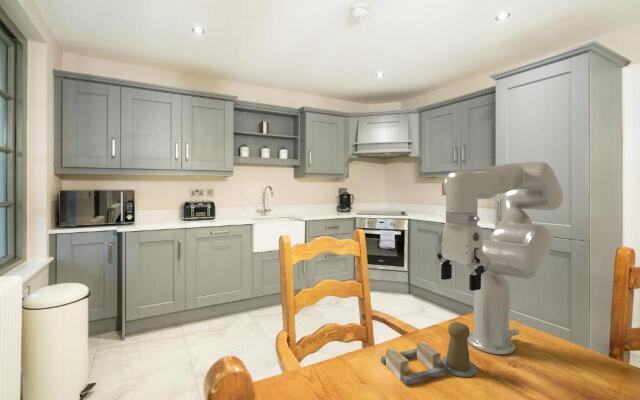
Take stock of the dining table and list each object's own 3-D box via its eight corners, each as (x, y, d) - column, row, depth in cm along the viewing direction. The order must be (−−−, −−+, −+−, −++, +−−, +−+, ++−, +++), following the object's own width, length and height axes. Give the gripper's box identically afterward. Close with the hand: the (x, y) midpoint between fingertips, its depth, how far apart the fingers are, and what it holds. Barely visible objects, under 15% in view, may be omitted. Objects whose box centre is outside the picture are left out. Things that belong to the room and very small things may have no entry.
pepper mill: (473, 373, 81) (474, 330, 80) (448, 370, 82) (449, 328, 81) (467, 360, 87) (468, 320, 86) (443, 358, 88) (444, 318, 87)
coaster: (458, 355, 90) (458, 353, 90) (485, 372, 82) (485, 370, 82) (432, 361, 87) (432, 359, 87) (458, 380, 79) (458, 378, 78)
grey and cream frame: (418, 353, 91) (418, 338, 91) (446, 374, 81) (446, 357, 81) (381, 361, 87) (381, 345, 87) (405, 385, 77) (406, 367, 76)
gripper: (501, 222, 76) (499, 292, 77) (447, 215, 92) (446, 274, 93) (477, 223, 73) (476, 296, 74) (426, 216, 89) (426, 276, 90)
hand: (459, 284), depth 83 cm, fingers open, 9 cm apart
